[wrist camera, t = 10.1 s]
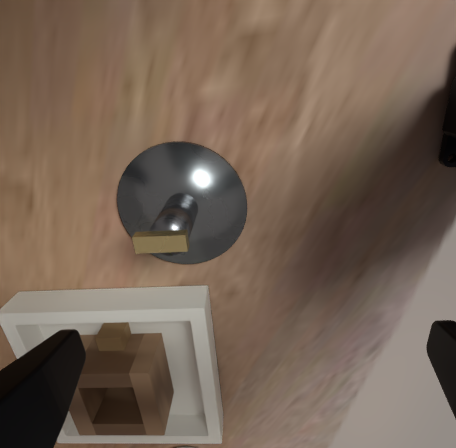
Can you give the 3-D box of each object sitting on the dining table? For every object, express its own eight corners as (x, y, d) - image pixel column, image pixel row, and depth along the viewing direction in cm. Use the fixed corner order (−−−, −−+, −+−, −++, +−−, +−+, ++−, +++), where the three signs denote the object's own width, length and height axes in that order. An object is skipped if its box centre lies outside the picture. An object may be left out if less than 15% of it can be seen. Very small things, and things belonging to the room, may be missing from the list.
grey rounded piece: (243, 136, 18) (243, 156, 13) (249, 259, 21) (251, 307, 17) (105, 146, 18) (61, 168, 14) (132, 263, 22) (104, 311, 17)
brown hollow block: (174, 391, 26) (164, 435, 23) (99, 392, 26) (79, 435, 23) (158, 320, 23) (145, 359, 20) (74, 322, 23) (47, 361, 20)
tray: (208, 285, 22) (204, 308, 20) (223, 415, 28) (221, 443, 26) (18, 291, 23) (-5, 313, 21) (71, 415, 29) (58, 443, 27)
